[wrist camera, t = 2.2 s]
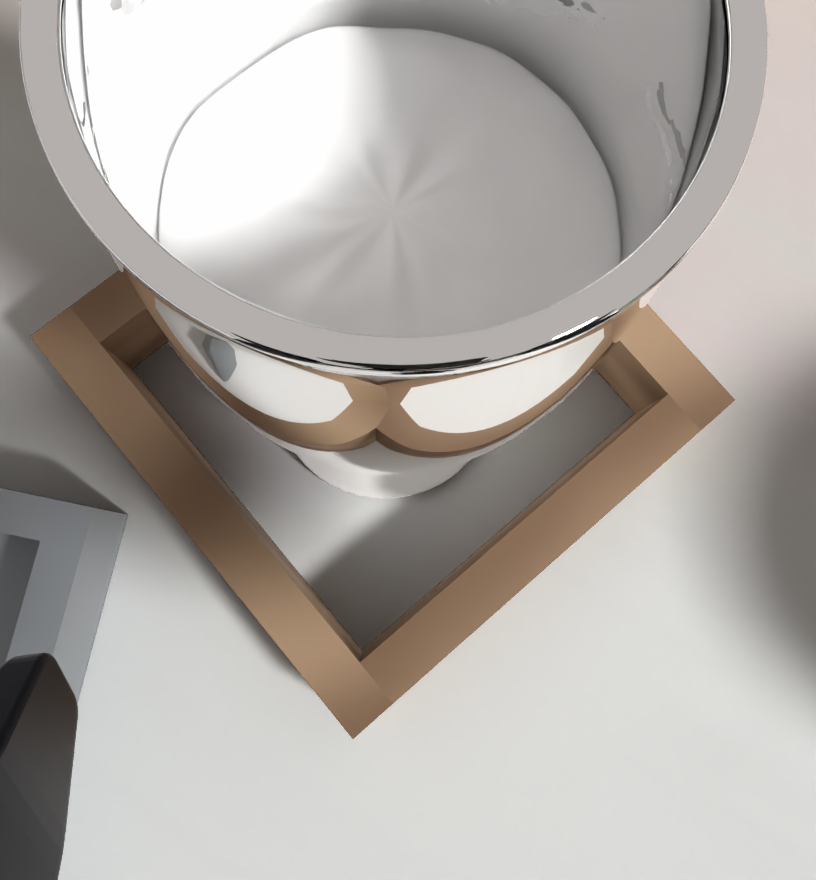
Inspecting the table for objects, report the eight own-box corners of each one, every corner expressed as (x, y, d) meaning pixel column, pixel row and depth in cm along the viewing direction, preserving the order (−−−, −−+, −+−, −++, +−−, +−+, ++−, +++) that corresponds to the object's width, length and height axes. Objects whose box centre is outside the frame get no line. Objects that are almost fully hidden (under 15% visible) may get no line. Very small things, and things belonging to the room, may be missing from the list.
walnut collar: (694, 418, 22) (735, 399, 19) (356, 717, 20) (353, 739, 18) (411, 105, 23) (414, 49, 20) (70, 362, 21) (30, 336, 19)
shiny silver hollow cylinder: (283, 256, 22) (84, -382, 7) (522, 292, 22) (818, -264, 7) (240, 495, 21) (-103, 330, 6) (492, 532, 21) (769, 458, 6)
